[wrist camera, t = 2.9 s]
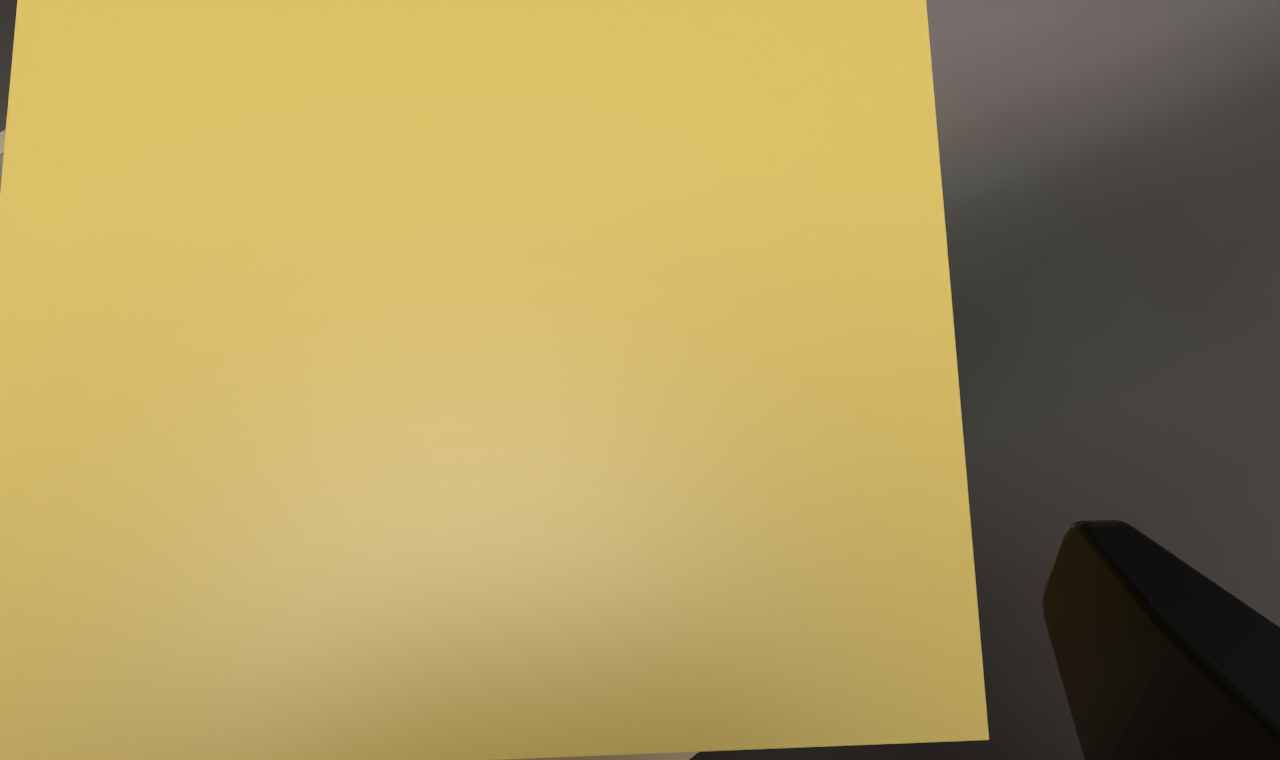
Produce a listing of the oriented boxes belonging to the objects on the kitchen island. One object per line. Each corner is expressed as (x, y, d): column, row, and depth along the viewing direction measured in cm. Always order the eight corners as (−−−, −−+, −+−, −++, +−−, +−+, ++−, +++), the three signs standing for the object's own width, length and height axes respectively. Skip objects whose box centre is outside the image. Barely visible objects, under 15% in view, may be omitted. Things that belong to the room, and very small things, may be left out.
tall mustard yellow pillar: (703, 623, 16) (990, 740, 5) (387, 633, 16) (-53, 782, 5) (691, 311, 17) (912, -171, 6) (392, 315, 17) (35, -191, 6)
